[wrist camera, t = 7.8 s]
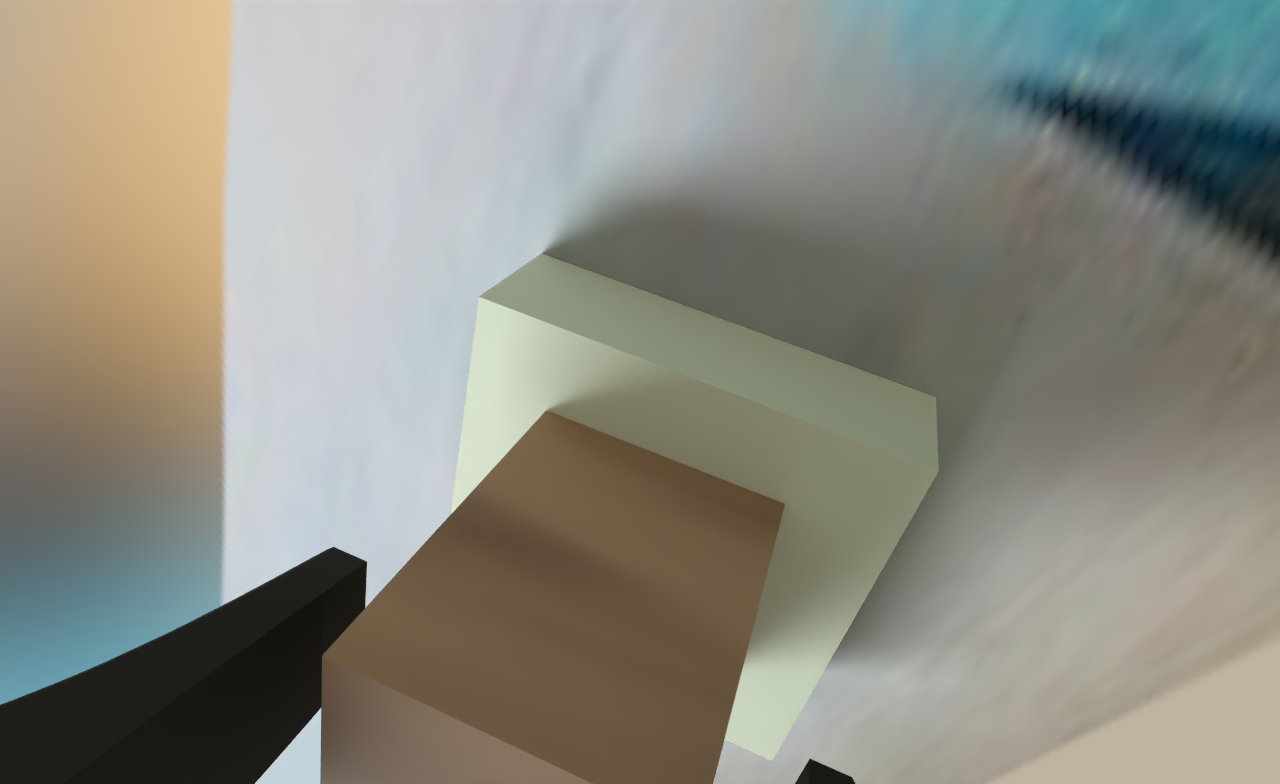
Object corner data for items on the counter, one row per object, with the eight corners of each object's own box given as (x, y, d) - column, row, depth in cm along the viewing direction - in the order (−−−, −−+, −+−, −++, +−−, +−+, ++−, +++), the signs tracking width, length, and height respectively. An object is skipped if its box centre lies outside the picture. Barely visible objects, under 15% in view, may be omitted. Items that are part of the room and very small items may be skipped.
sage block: (792, 655, 18) (771, 761, 16) (500, 529, 19) (438, 608, 17) (935, 385, 14) (939, 471, 11) (551, 246, 15) (478, 296, 13)
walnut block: (712, 672, 15) (609, 1013, 10) (511, 584, 16) (319, 861, 11) (785, 503, 13) (699, 835, 8) (545, 410, 13) (321, 655, 8)
